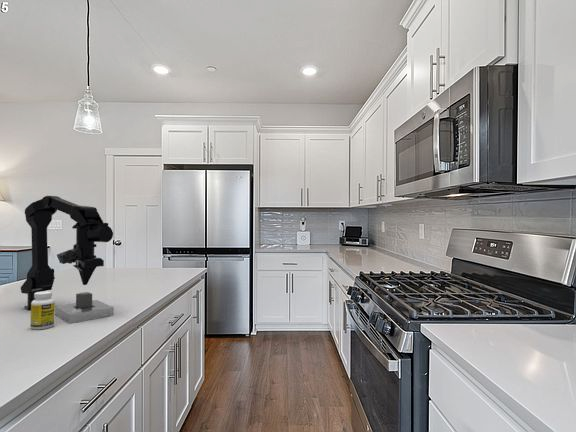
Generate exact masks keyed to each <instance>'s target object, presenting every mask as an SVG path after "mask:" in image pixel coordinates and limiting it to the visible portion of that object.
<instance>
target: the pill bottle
mask: <svg viewBox="0 0 576 432" xmlns="http://www.w3.org/2000/svg"><path fill="white" fill-rule="evenodd" d="M52 297H53V292H52V290H47V291H42V292H36V293H34V298H35V300H33V301H32V303H31V310H30V329H31V330H38V331H39V330H45V329H51V328H52V327H53V326H55V306H56V305H55V299H54V298H52Z"/></svg>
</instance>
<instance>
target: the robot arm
mask: <svg viewBox="0 0 576 432" xmlns="http://www.w3.org/2000/svg"><path fill="white" fill-rule="evenodd" d="M58 211H59V212H61V213H65V214H66V215H68V216H69V217H70V219H71V220H72V221H74V222H76V223H75V224H74V225H72V226H71V227H72V229H73V230H75V229H76V230H75V231H76V234H75V235H76V236H75V237H76V240H75V244H73V245H72V247H73V248H72V249H68V250H65V251H62V252H60V253H57V254H56V256H57V259H58V262H59V264H62V265H65V264H72V263H75V264H73V265H72V266H73V267H74V268H75V269H76V270H77V271H78V273H79V275H80V279H81V282H82V285H83V286H86V285H88V284H89V281H90V279H91V277H92V275H93V273H94V272H95V270H96V269H97V268H99V267H104V265H105V261H104V259H102V258H101V257H97V255H95V248H97V243H108V242H110V241H111V240H112V238H113V237H114V231H113V229H112V228H111V227H110V226H109V223H108V222H104V221H103V219H102V217H101V216H100V213H99V211H98V209H97V207H95V206H89V205H79V204H76V203H74V202H71V201H70V200H69V201H68V200H67V199H64V198H61V197H60V196H57V195H45V196H43V197H42V198H41V199H39V200H36V201H33V202H32V203H31V202H30V204H29V205H27V206H26V207H25V209H24V215H25V221H26V223H27V224H28V225H29V226H30V228H31V229H30V230H31V233H30V234H31V266H30V268H29V269H28V272H27V273H26V279H25V281H24V282H23V283H22V285H21V286H20V292H21V294H25V295H27V302H26V303H27V305H25V306H24V308H25V309H26V310H28V311H31V303H32V301H33V300H35V298H34V293H36V292H42V291H52V290H53V286H54V282H55V279H56V277H55V269H54V268H51V267H50V265H49V261H48V260H49V258H48V256H49V255H48V227H49V225H50V224H51V222H52V219H53V215H54V214H55V213H57V212H58Z"/></svg>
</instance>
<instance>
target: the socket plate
mask: <svg viewBox="0 0 576 432" xmlns="http://www.w3.org/2000/svg"><path fill="white" fill-rule="evenodd" d="M54 316H56V317H58V318H60V319H61V320H62V321H65V323H67V324H71V325H72V324H76V323H81V322H86V321H92V320H96V319H102V318H107V317H112V316H113V317H114V306H112V305H109V304H107V303H105V302H103V301H100V300H98V299H92V307H90V308H84V309H80V308H77V309H76V302H74V303H68V304H60V305H54Z"/></svg>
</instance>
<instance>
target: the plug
mask: <svg viewBox="0 0 576 432" xmlns="http://www.w3.org/2000/svg"><path fill="white" fill-rule="evenodd" d="M75 296H76V297H75V303H76V309H77V308H80V309H84V308H90V307H92V301H93V293H92V292H90V291H89V292H87V291H84V292H79V293H76V294H75Z"/></svg>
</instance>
